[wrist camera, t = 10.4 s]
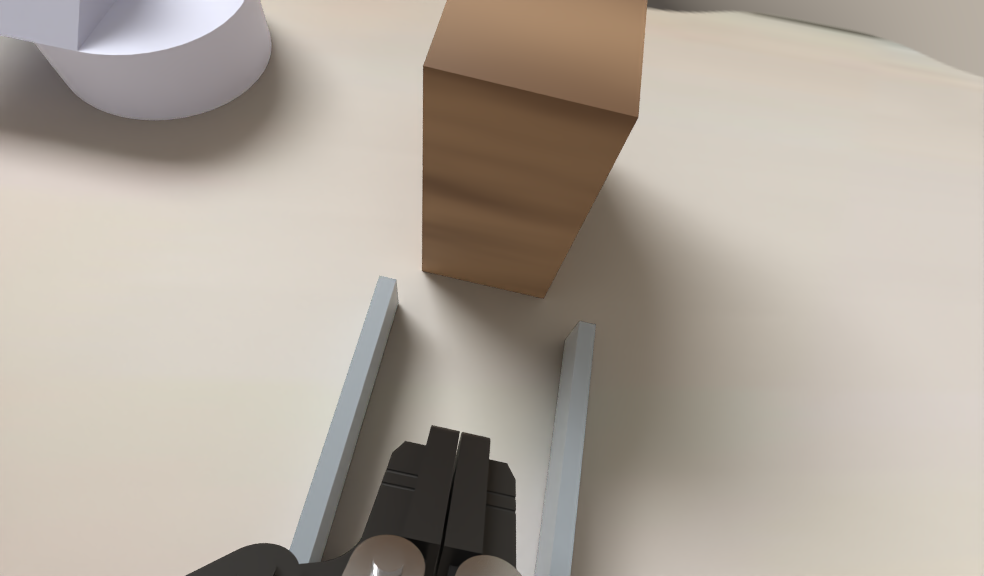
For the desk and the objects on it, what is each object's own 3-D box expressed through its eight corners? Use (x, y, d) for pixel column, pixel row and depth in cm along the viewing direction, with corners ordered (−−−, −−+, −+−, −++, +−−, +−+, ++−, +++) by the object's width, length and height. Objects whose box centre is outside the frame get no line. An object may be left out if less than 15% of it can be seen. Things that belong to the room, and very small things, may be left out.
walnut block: (543, 298, 20) (638, 117, 12) (422, 271, 20) (423, 65, 11) (569, 134, 25) (654, -95, 16) (468, 110, 24) (495, -135, 15)
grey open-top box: (534, 735, 14) (551, 763, 13) (262, 680, 14) (239, 701, 12) (579, 343, 20) (596, 324, 18) (383, 299, 20) (379, 275, 18)
